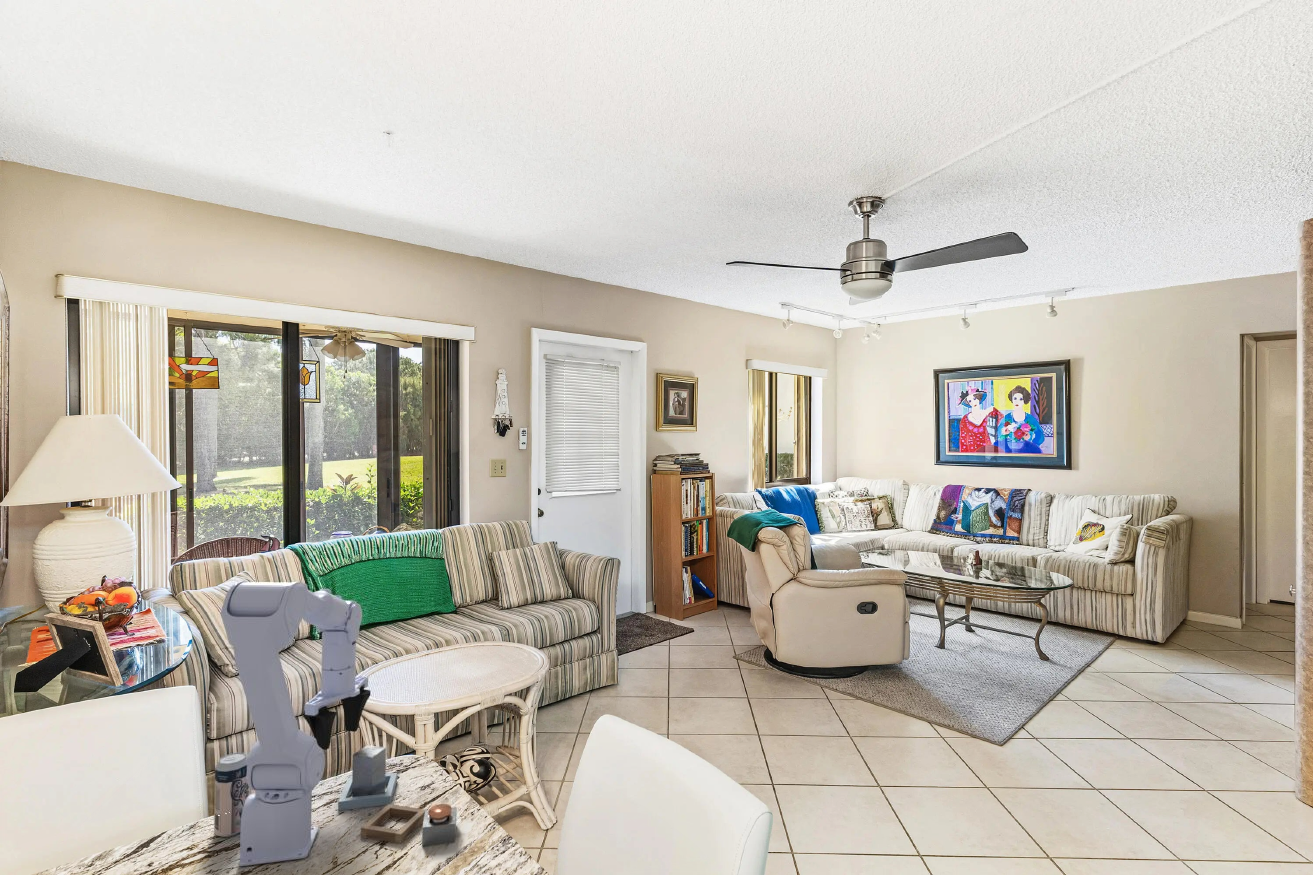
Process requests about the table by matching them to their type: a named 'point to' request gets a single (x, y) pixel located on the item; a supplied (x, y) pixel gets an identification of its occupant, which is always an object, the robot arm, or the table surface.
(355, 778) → the grey metal block
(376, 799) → the light blue square frame
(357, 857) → the table surface
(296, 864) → the table surface
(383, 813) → the walnut socket
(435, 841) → the frame
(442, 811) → the plunger
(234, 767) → the beer can
